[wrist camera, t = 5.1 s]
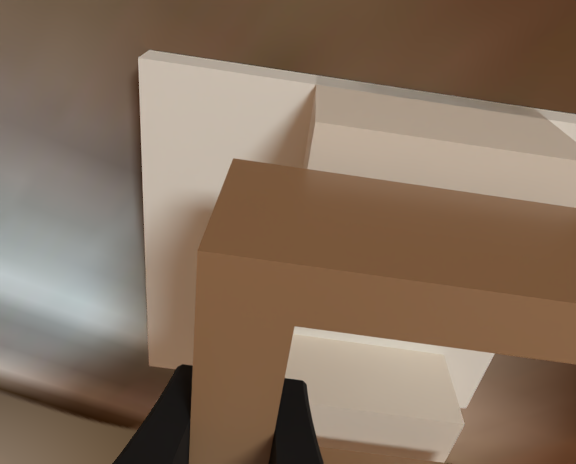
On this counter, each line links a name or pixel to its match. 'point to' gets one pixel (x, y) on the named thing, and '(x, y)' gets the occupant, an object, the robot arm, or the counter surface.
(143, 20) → the counter surface
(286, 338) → the tan c-shaped bracket
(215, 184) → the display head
